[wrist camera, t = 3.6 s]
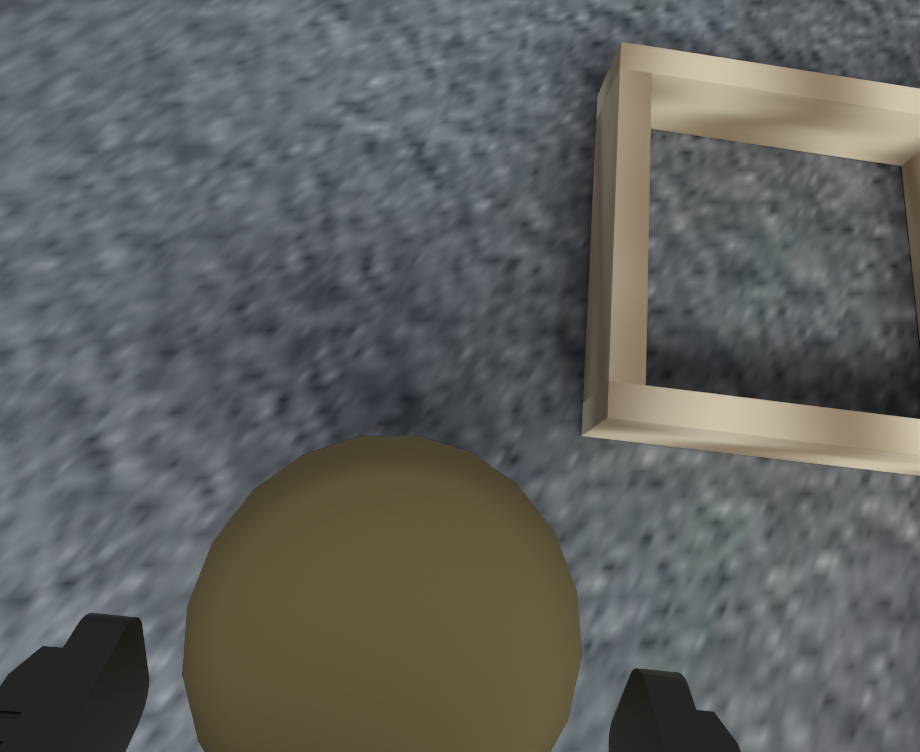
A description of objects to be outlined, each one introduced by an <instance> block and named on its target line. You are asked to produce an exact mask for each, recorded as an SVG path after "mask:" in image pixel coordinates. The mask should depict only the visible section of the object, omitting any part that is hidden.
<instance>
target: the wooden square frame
mask: <svg viewBox="0 0 920 752" xmlns="http://www.w3.org/2000/svg"><path fill="white" fill-rule="evenodd" d="M651 129H656V130H662V131H669V132H676V133H682V134H689V135H696V136H703V137H709V138H716V139H723V140H729V141H736V142H743V143H750V144H756V145H763V146H770V147H776V148H783V149H790V150H797V151H803V152H810V153H817V154H823V155H830V156H837V157H844V158H850V159H857V160H864V161H870V162H877V163H884V164H891V165H897V166H901V167H902V177H903V186H904V196H905V206H906V215H907V225H908V234H909V244H910V253H911V263H912V272H913V282H914V292H915V301H916V311H917V320H918V330H919V339H920V89H919V88H913V87H906V86H900V85H894V84H887V83H881V82H874V81H868V80H862V79H855V78H849V77H843V76H836V75H830V74H824V73H817V72H811V71H804V70H798V69H792V68H785V67H779V66H773V65H766V64H760V63H754V62H747V61H741V60H734V59H728V58H722V57H715V56H709V55H703V54H696V53H690V52H684V51H677V50H671V49H664V48H658V47H652V46H645V45H639V44H633V43H626V42H621V43H620V45H619V48H618V50H617V52H616V54H615V57H614V59H613V61H612V64H611V66H610V68H609V71H608V73H607V75H606V78H605V80H604V82H603V84H602V87H601V89H600V91H599V94H598V96H597V115H596V137H595V158H594V179H593V200H592V222H591V243H590V264H589V285H588V307H587V328H586V349H585V370H584V392H583V413H582V434H581V436H586V437H595V438H603V439H612V440H620V441H629V442H637V443H646V444H654V445H663V446H671V447H680V448H688V449H697V450H705V451H714V452H722V453H731V454H739V455H748V456H756V457H765V458H773V459H782V460H790V461H799V462H807V463H816V464H824V465H833V466H841V467H850V468H858V469H867V470H876V471H884V472H893V473H901V474H910V475H918V476H920V419H915V418H907V417H899V416H890V415H882V414H874V413H866V412H858V411H850V410H842V409H834V408H826V407H817V406H809V405H801V404H793V403H785V402H777V401H769V400H761V399H753V398H744V397H736V396H728V395H720V394H712V393H704V392H696V391H688V390H680V389H671V388H663V387H655V386H647V385H646V348H647V297H648V246H649V194H650V143H651Z"/></svg>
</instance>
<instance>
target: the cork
mask: <svg viewBox="0 0 920 752" xmlns="http://www.w3.org/2000/svg"><path fill="white" fill-rule="evenodd" d="M581 657H582V651H581V638H580V625H579V611H578V598H577V590H576V588H575V585H574V582H573V580H572V577H571V574H570V572H569V569H568V567H567V564H566V561H565V559H564V556H563V554H562V551H561V548H560V546H559V543H558V540H557V538H556V535H555V533H554V531H553V529H552V528H551V527H550V526H549V524H548V523H547V522H546V520H545V519H544V518H543V517H542V515H541V514H540V513H539V511H538V510H537V509H536V508H535V506H534V505H533V504H532V502H531V501H530V500H529V499H528V497H527V496H526V495H525V493H524V492H523V491H522V490H521V488H520V487H519V486H518V485H517V484H516V483H515V482H513V481H512V480H510V479H509V478H507V477H506V476H504V475H503V474H502V473H500V472H499V471H497V470H496V469H494V468H493V467H491V466H490V465H489V464H487V463H486V462H484V461H483V460H481V459H480V458H478V457H477V456H476V455H474V454H473V453H471V452H469V451H465V450H462V449H459V448H456V447H452V446H449V445H446V444H442V443H439V442H436V441H433V440H429V439H426V438H423V437H420V436H359V437H355V438H352V439H349V440H346V441H343V442H340V443H337V444H334V445H331V446H328V447H325V448H322V449H319V450H316V451H313V452H310V453H307V454H304V455H302V456H301V457H299V458H298V459H296V460H295V461H294V462H292V463H291V464H289V465H288V466H287V467H285V468H284V469H282V470H281V471H279V472H278V473H277V474H275V475H274V476H272V477H271V478H270V479H268V480H267V481H265V482H264V483H262V484H261V485H260V486H258V487H257V488H255V489H254V490H253V491H252V492H251V493H250V495H249V496H248V497H247V499H246V500H245V501H244V502H243V504H242V505H241V506H240V508H239V509H238V510H237V511H236V513H235V514H234V515H233V517H232V518H231V519H230V520H229V522H228V523H227V524H226V526H225V527H224V528H223V529H222V531H221V532H220V533H219V534H218V536H217V537H216V538H215V540H214V541H213V543H212V544H211V547H210V550H209V552H208V555H207V557H206V560H205V562H204V565H203V568H202V570H201V573H200V575H199V578H198V580H197V583H196V585H195V588H194V591H193V593H192V596H191V598H190V601H189V603H188V606H187V619H186V633H185V646H184V659H183V672H182V675H183V679H184V683H185V688H186V692H187V696H188V700H189V704H190V709H191V713H192V717H193V721H194V725H195V730H196V734H197V738H198V742H199V743H200V745H201V747H202V748H203V750H204V751H205V752H551V750H552V748H553V746H554V744H555V743H556V741H557V739H558V737H559V735H560V734H561V732H562V730H563V728H564V726H565V725H566V723H567V721H568V717H569V712H570V708H571V703H572V699H573V694H574V689H575V685H576V680H577V675H578V671H579V666H580V662H581Z"/></svg>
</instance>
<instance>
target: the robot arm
mask: <svg viewBox="0 0 920 752" xmlns="http://www.w3.org/2000/svg"><path fill="white" fill-rule="evenodd" d="M148 688H149V674H148V666H147V658H146V651H145V643H144V636H143V628H142V622H141V620H140V619H139V618H137V617H127V616H117V615H107V614H97V613H89V614H87V615H86V616H84V617H83V618H82V619H81V621H80V622H79V623H78V625H77V626H76V628H75V630H74V631H73V633H72V634H71V636H70V637H69V639H68V641H67V642H66V644H65V645H64V647H63V648H58V647H48V646H42V647H41V648H40V649H39V650H37V651H36V652H35V653H34V654H32V655H31V656H30V657H29V658H28V659H26V660H25V661H24V662H23V663H21V664H20V665H19V666H18V667H17V668H15V669H14V670H13V671H12V672H11V673H9V674H8V676H7V677H6V678H5V680H4V681H3V683H2V684H1V686H0V752H126V749H127V747H128V745H129V743H130V741H131V739H132V736H133V734H134V732H135V730H136V728H137V725H138V723H139V721H140V719H141V716H142V713H143V710H144V707H145V703H146V700H147V695H148ZM609 752H741V751H740V749H739V746H738V744H737V742H736V741H735V739H734V738H733V737H732V735H731V734H730V733H729V731H728V730H727V729H726V727H725V726H724V725H723V723H722V722H721V721H720V719H719V718H718V717H717V715H716V714H715V713H714V712H711V711H701V710H696V708H695V705H694V702H693V699H692V696H691V693H690V690H689V687H688V684H687V682H686V680H685V678H684V676H683V675H682V674H681V673H678V672H668V671H658V670H648V669H637V668H636V669H634V670H633V671H632V672H631V674H630V677H629V679H628V682H627V684H626V687H625V689H624V692H623V694H622V697H621V700H620V702H619V705H618V707H617V710H616V712H615V715H614V717H613V720H612V723H611V727H610V733H609Z"/></svg>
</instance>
